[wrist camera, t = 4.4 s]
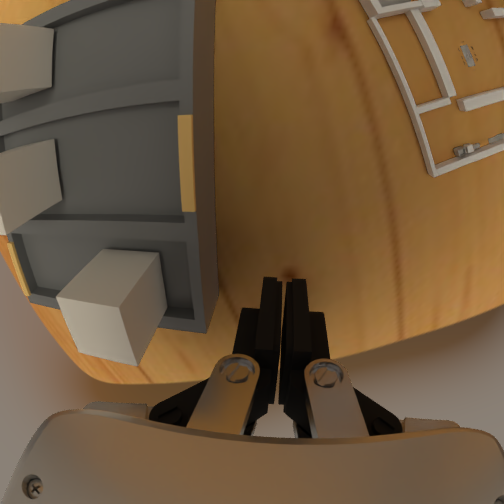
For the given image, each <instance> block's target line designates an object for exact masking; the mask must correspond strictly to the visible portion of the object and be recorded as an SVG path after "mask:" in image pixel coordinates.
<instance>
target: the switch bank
mask: <svg viewBox="0 0 504 504" xmlns="http://www.w3.org/2000/svg"><path fill="white" fill-rule="evenodd" d="M215 3H216V0H70V1H68V2H65V3H63V4H61V5H59V6H56V7H54V8H52V9H50V10H48V11H46V12H44V13H42V14H40V15H38V16H36V17H34V18H33V19H31V20H29V21H27V22H25V23H24V24H22V25H28V26H37V27H44V28H51V29H54V35H53V50H52V87H50V88H47V89H44V90H41V91H39V92H36V93H33V94H31V95H28V96H25V97H23V98H20V99H18V100H15V101H12V102H6V103H1V104H0V153H2V152H4V151H7V150H10V149H13V148H16V147H20V146H24V145H28V144H32V143H36V142H41V141H45V140H50V139H54V142H55V152H56V160H57V168H58V175H59V182H60V188H61V194H62V200H61V201H59V202H58V203H56V204H54V205H53V206H51V207H49V208H48V209H46V210H44V211H43V212H41V213H40V214H38V215H36V216H35V217H33V218H32V219H30V220H28V221H27V222H25V223H24V224H22V225H21V226H19V227H18V228H16V229H15V230H13V231H12V232H10V233H9V234H7V237H8V240H9V242H8V243H7V246H8V249H9V252H10V255H11V258H12V261H13V264H14V267H15V270H16V273H17V276H18V279H19V281H20V284H21V287H22V289H23V292H24V294H25V295H26V296H28V298H29V301H30V303H34V304H38V305H43V306H47V307H51V308H55V309H60V306H59V304H58V301H57V299H56V296H57V295H58V294H59V293H60V291H61V290H62V289H63V288H64V287H65V286H66V285H67V284H68V283H69V282H70V281H71V280H72V279H73V278H74V277H75V276H76V275H77V274H78V273H79V272H80V271H81V270H82V269H83V268H84V267H85V266H86V265H87V264H88V263H89V262H90V261H91V260H92V259H93V258H94V257H95V256H96V255H97V254H98V253H99V252H100V251H101V250H102V249H113V250H128V251H143V252H158V253H159V256H160V263H161V270H162V276H163V282H164V288H165V294H166V300H167V306H168V307H167V309H166V311H165V313H164V315H163V317H162V319H161V321H160V323H159V325H158V327H159V328H166V329H173V330H181V331H189V332H198V333H207V330H208V327H209V324H210V321H211V318H212V315H213V311H214V308H215V305H216V302H217V299H218V296H219V284H218V264H217V241H216V214H215V178H214V35H215ZM60 310H61V309H60Z"/></svg>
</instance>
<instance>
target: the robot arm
mask: <svg viewBox="0 0 504 504" xmlns="http://www.w3.org/2000/svg"><path fill="white" fill-rule="evenodd" d="M281 315H282V281H277V278H276V277H264V279H263V287H262V295H261V303H260V309H255V308H242V310H241V314H240V319H239V324H238V329H237V334H236V338H235V343H234V348H233V353H232V354H231V355H227V356H225V357H223V358H222V359H220V360H219V361H218V362H217V364H216V365H215V367H214V369H213V371H212V374H211V376H210V378H208V379H206V380H204V381H202V382H200V383H198V384H196V385H194V386H192V387H190V388H188V389H186V390H184V391H182V392H180V393H179V394H176V395H174V396H172V397H170V398H168V399H166V400H164V401H162V402H160V403H158V404H157V405H155V406H154V407H148V406H147V404H135V403H134V404H133V403H113V402H92V403H90V404H88V405H86V406H85V407H84V408H83V409H73V410H66V411H60V412H57V413H55V414H52V415H51V416H49V417H48V418H47V419H46V420H45V421H44V422H43V423H42V424H41V425H40V427H39V428H38V429H37V431H36V432H35V434H34V435H33V437H32V438H31V440H30V441H29V443H28V445H27V447H26V449H25V450H24V452H23V454H22V456H21V458H20V460H19V462H18V464H17V466H16V468H15V471H14V473H13V475H12V478H11V480H10V482H9V485H8V487H7V489H6V492H5V494H4V497H3V500H2V502H1V504H504V450H503V449H502V447H501V445H500V443H499V442H498V440H497V439H496V438H495V437H494V436H493V435H491V434H490V433H487V432H485V431H482V430H478V429H471V428H464V427H460V426H459V425H458V424H457V423H455V422H453V421H449V420H431V419H417V418H405V419H404V420H399V419H398V418H397V417H396V416H395V415H394V414H392V413H391V412H389V411H388V410H386V409H385V408H383V407H382V406H380V405H379V404H377V403H376V402H374V401H372V400H371V399H370V398H368V397H367V396H365V395H364V394H362V393H361V392H359V391H358V390H357V389H355V388H354V387H353V386H352V383H351V380H350V378H349V375H348V372H347V370H346V368H345V367H344V366H343V365H342V364H340V363H339V362H337V361H335V360H332V359H330V354H329V346H328V338H327V331H326V324H325V317H324V313H323V312H309V306H308V296H307V285H306V279H293V278H292V282H287V283H286V294H285V305H284V315H283V325H282V336H281ZM280 344H281V359H280V383H279V404H283V405H284V413H285V414H286V415H288V416H289V417H290V418H291V419H292V420H293V429H294V435H295V438H276V437H275V438H274V437H260V436H259V437H258V436H253V434H254V431H255V427H256V424H257V419H259V418H260V417H262V416H263V415H265V414H266V413H267V411H268V404H274V398H275V391H276V383H277V374H278V366H279V357H280Z"/></svg>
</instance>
